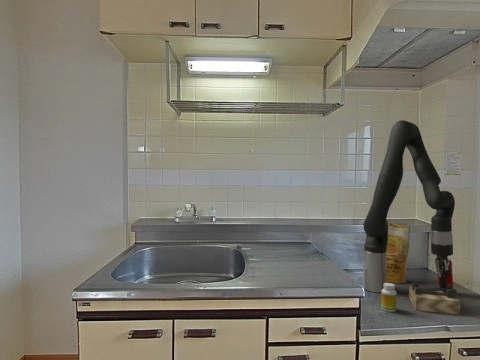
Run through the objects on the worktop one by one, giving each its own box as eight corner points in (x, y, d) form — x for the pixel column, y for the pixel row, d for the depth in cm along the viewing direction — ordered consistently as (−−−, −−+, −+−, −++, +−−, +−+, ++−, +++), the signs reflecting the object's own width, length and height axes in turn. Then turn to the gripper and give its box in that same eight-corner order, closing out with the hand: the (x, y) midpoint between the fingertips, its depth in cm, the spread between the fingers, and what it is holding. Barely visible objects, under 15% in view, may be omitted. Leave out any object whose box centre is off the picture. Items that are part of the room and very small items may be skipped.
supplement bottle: (394, 313, 136) (395, 287, 136) (379, 310, 139) (380, 285, 139) (397, 308, 141) (397, 283, 140) (382, 305, 143) (383, 281, 143)
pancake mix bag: (366, 276, 182) (367, 220, 181) (408, 281, 175) (409, 223, 174) (365, 279, 176) (366, 222, 175) (408, 285, 169) (410, 225, 167)
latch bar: (416, 292, 143) (415, 289, 143) (414, 289, 147) (413, 286, 147) (451, 290, 140) (451, 287, 140) (448, 287, 144) (447, 284, 144)
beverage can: (455, 296, 155) (456, 261, 154) (438, 295, 156) (439, 260, 155) (450, 291, 160) (451, 257, 160) (434, 290, 162) (435, 256, 161)
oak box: (415, 310, 139) (416, 289, 139) (409, 297, 153) (409, 278, 152) (459, 314, 135) (460, 293, 135) (448, 301, 149) (449, 281, 148)
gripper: (427, 239, 150) (428, 281, 150) (435, 245, 137) (436, 291, 137) (447, 239, 148) (448, 281, 148) (457, 245, 135) (459, 292, 135)
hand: (442, 286), depth 142 cm, fingers closed
